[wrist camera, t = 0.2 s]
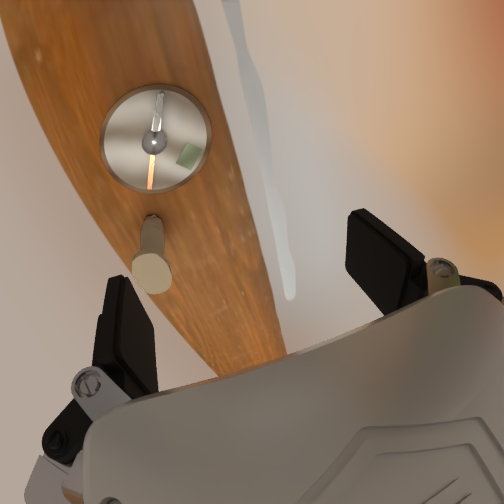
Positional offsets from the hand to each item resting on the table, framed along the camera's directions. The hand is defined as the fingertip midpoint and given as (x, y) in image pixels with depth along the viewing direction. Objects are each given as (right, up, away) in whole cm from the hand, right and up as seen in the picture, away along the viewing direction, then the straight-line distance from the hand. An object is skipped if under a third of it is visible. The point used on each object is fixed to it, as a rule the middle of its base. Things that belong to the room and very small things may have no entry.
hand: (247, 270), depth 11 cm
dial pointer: (-14, +17, +26) cm, 34 cm away
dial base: (-15, +18, +28) cm, 36 cm away
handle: (-17, +6, +36) cm, 40 cm away
